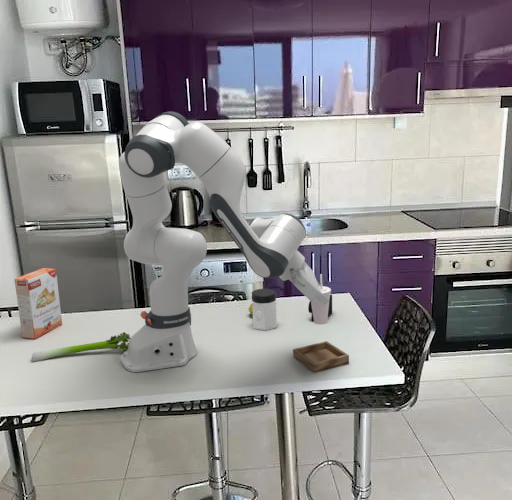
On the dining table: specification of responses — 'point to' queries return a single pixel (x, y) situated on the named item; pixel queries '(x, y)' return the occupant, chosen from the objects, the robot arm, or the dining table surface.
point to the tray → (320, 356)
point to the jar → (264, 309)
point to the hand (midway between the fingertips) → (325, 297)
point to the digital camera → (328, 309)
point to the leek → (84, 348)
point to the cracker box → (38, 302)
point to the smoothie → (321, 305)
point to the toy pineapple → (251, 309)
